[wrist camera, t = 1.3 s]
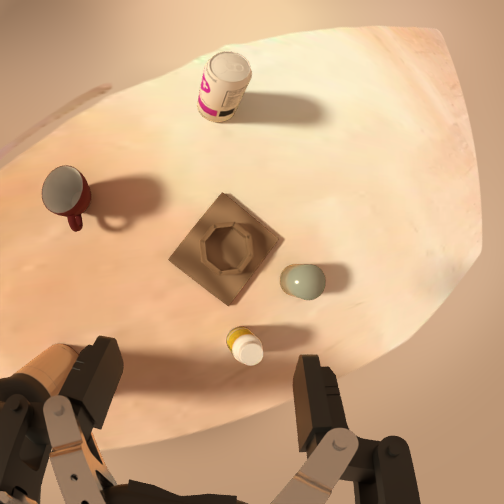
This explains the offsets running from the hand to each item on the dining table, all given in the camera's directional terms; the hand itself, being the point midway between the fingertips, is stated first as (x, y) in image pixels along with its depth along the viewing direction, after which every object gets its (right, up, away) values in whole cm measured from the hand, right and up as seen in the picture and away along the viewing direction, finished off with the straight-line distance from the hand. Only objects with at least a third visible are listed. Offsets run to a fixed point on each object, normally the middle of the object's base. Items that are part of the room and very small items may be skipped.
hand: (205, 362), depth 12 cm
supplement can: (-6, +35, +44) cm, 56 cm away
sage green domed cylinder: (+11, -1, +47) cm, 48 cm away
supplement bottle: (-1, -12, +44) cm, 45 cm away
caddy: (-3, +5, +43) cm, 44 cm away
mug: (-30, +13, +37) cm, 49 cm away
